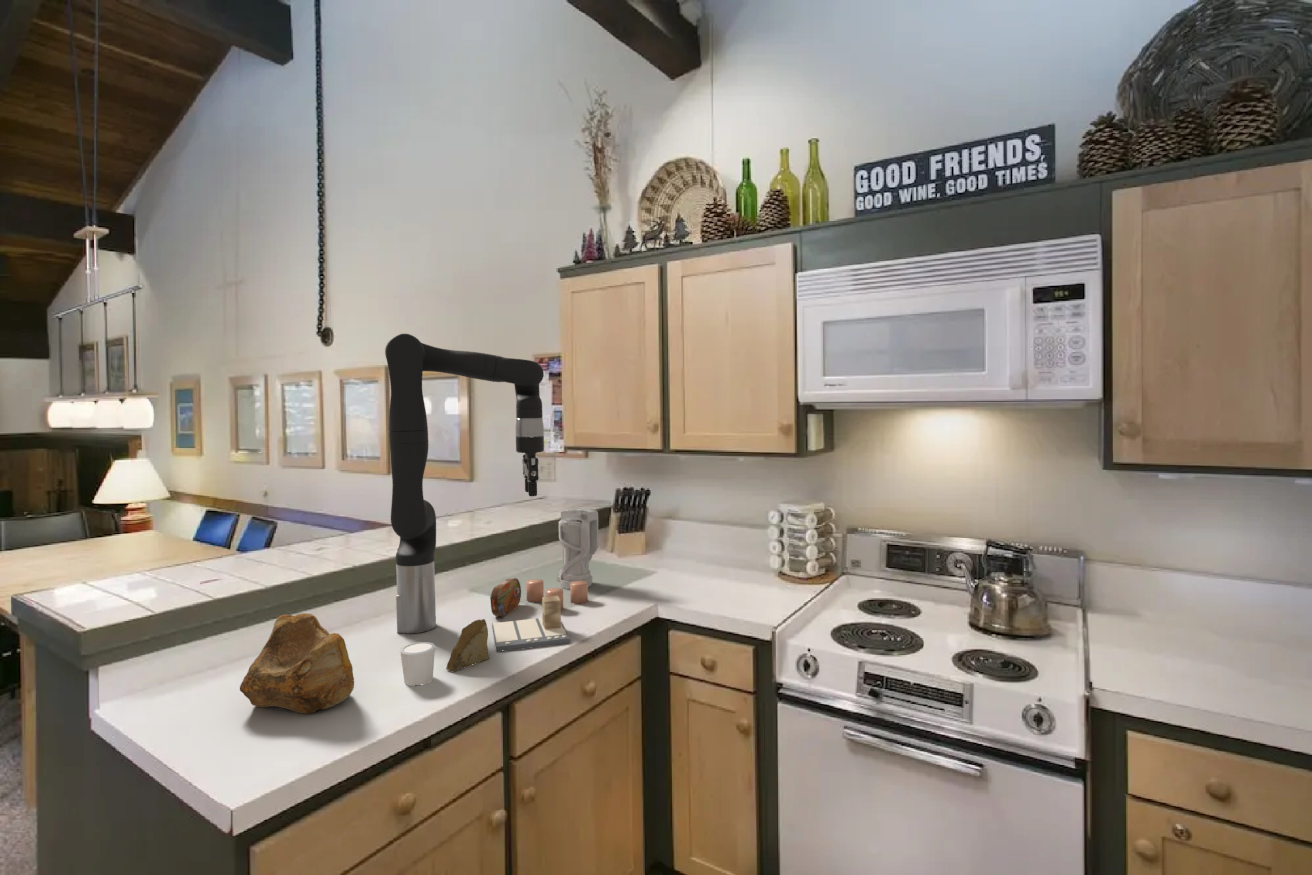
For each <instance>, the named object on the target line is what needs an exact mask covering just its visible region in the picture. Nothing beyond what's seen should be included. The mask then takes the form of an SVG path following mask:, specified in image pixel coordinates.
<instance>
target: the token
mask: <svg viewBox="0 0 1312 875" xmlns="http://www.w3.org/2000/svg"><path fill="white" fill-rule="evenodd" d="M541 603H542V604H541V605H542V609H541V610H542V612H541V613H542V614H541V615H542V618H543V626H544V628H545V629H553V628H561V623H562V618H561V617H562V616H561V612H562V611H561V606H560V599H559V597H558V596H551V597H545V596H544V597H542V601H541Z"/></svg>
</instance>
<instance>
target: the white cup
mask: <svg viewBox="0 0 1312 875" xmlns="http://www.w3.org/2000/svg"><path fill="white" fill-rule="evenodd" d="M399 652H400V658H401V667H402V673H403V680H404V684H405V685H406V684H407V685H406V686H408V685H412V686H411V687H416V686H415V685H421V684H425V685H427V684H429V683H431V682H432V681H433V679H434V670H435V669H434V668H435V667H434V666H435V652H436V645H435V644H434V643H433V642H428V641H427V642H426V641H421V642H414V643H409V644H407V645H404V646H403V647H401V648H400V651H399ZM431 680H432V681H431ZM430 681H431V682H430ZM421 686H422V685H421Z"/></svg>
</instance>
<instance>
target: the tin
mask: <svg viewBox="0 0 1312 875" xmlns="http://www.w3.org/2000/svg"><path fill="white" fill-rule="evenodd" d="M521 596H522V586H521V583H520V581H519V579H518V578H517V577H513V578H507V579H505V580H503V581H502V582H500V583H499V584H497V585H495V586H494V587H493V589H492V591H491V593H490V609H491V614H492V615H493V616H495V617H503V618H504V617H507V616H508V615H509V614H510V613H512V612H513V611H515V609H517V608H518V607H519V605H520V602H521V598H522V597H521Z"/></svg>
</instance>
